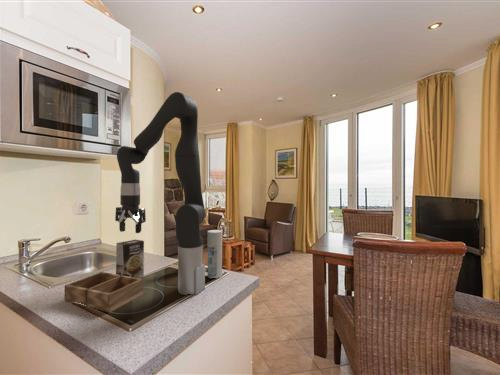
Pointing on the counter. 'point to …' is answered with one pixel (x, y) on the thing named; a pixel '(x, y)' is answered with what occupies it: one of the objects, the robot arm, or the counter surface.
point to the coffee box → (130, 258)
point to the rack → (104, 291)
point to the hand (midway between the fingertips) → (130, 232)
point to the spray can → (214, 253)
